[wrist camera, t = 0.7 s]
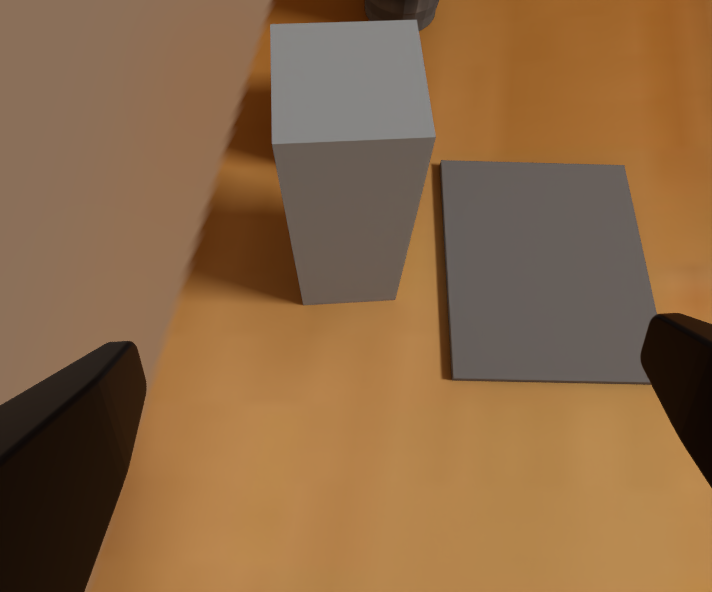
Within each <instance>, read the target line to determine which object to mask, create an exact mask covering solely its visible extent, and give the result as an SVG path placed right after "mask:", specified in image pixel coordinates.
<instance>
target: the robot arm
mask: <svg viewBox="0 0 712 592" xmlns="http://www.w3.org/2000/svg"><path fill="white" fill-rule="evenodd" d="M640 359H641V364H642V367H643V369H644V371H645V373H646V375H647V377H648V379H649V381H650V383H651V385H652V387H653V389H654V391H655V393H656V395H657V397H658V398H659V400H660V402H661V404H662V406H663V408H664V410H665V412H666V414H667V416H668V418H669V420H670V422H671V424H672V426H673V427H674V429H675V431H676V433H677V435H678V437H679V438H680V440H681V442H682V443H683V445H684V446H685V448H686V450H687V451H688V453H689V454H690V456H691V457H692V459H693V460H694V462H695V463H696V465H697V466H698V468H699V470H700V471H701V473H702V474H703V476H704V477H705V479H706V480H707V482H708V483H709V485H710V486H711V488H712V324H709V323H707V322H704V321H701V320H698V319H695V318H692V317H689V316H686V315H684V314H680V313H666V314H657V315H655V316H653V317H652V319H651V320H650V322H649V325H648V329H647V332H646V336H645V339H644V343H643V346H642V349H641V354H640ZM145 396H146V379H145V375H144V371H143V368H142V364H141V360H140V356H139V353H138V349H137V347H136V345H135V344H134V343H133V342H131V341H122V342H109V343H106V344H104V345H102V346H101V347H99V348H98V349H96V350H94V351H92V352H91V353H89V354H87V355H86V356H84V357H82V358H81V359H79V360H77V361H75V362H74V363H72V364H70V365H69V366H67V367H65V368H63V369H62V370H60V371H58V372H57V373H55V374H53V375H51V376H50V377H48V378H46V379H45V380H43V381H41V382H39V383H38V384H36V385H34V386H33V387H31V388H29V389H28V390H26V391H24V392H23V393H21V394H19V395H17V396H16V397H14V398H12V399H11V400H9V401H7V402H5V403H4V404H2V405H0V592H84V591H85V588H86V586H87V583H88V580H89V577H90V575H91V572H92V569H93V567H94V564H95V561H96V558H97V556H98V553H99V550H100V547H101V545H102V542H103V539H104V536H105V534H106V531H107V528H108V525H109V523H110V520H111V517H112V514H113V512H114V509H115V506H116V503H117V501H118V498H119V495H120V492H121V490H122V487H123V484H124V481H125V478H126V475H127V472H128V468H129V464H130V460H131V456H132V452H133V448H134V443H135V439H136V435H137V431H138V426H139V422H140V418H141V413H142V409H143V405H144V401H145Z"/></svg>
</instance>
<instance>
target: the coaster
mask: <svg viewBox="0 0 712 592" xmlns="http://www.w3.org/2000/svg"><path fill="white" fill-rule="evenodd" d="M440 175H441V193H442V211H443V229H444V247H445V265H446V283H447V301H448V319H449V337H450V355H451V373H452V380H460V381H508V382H556V383H604V384H651V383H650V381H649V379H648V377H647V375H646V373H645V371H644V369H643V367H642V364H641V359H640V354H641V349H642V346H643V343H644V339H645V336H646V332H647V329H648V325H649V322H650V320H651V319H652V317H653V316H655V315H657V313H656V308H655V304H654V299H653V295H652V290H651V285H650V281H649V276H648V272H647V267H646V263H645V258H644V253H643V249H642V244H641V240H640V235H639V231H638V226H637V221H636V217H635V212H634V208H633V203H632V199H631V194H630V190H629V185H628V180H627V176H626V171H625V167H624V165H594V164H557V163H520V162H483V161H446V160H441V163H440Z"/></svg>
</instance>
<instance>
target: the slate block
mask: <svg viewBox="0 0 712 592" xmlns="http://www.w3.org/2000/svg"><path fill="white" fill-rule="evenodd" d="M270 31H271V112H272V147H273V152H274V158H275V163H276V168H277V173H278V178H279V183H280V188H281V194H282V199H283V204H284V209H285V214H286V219H287V224H288V230H289V235H290V240H291V245H292V250H293V255H294V260H295V266H296V271H297V276H298V281H299V286H300V291H301V296H302V301H303V305H314V304H331V303H349V302H366V301H383V300H395V299H396V295H397V291H398V287H399V283H400V279H401V275H402V271H403V267H404V263H405V259H406V255H407V250H408V246H409V242H410V238H411V234H412V230H413V226H414V222H415V218H416V214H417V210H418V206H419V202H420V198H421V194H422V190H423V186H424V182H425V178H426V174H427V170H428V166H429V162H430V158H431V154H432V150H433V146H434V142H435V138H436V136H435V130H434V124H433V118H432V111H431V105H430V99H429V93H428V86H427V80H426V74H425V68H424V61H423V55H422V49H421V43H420V37H419V30H418V24H417V20H391V21H360V22H328V23H296V24H270Z"/></svg>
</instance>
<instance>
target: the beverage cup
mask: <svg viewBox="0 0 712 592" xmlns="http://www.w3.org/2000/svg"><path fill="white" fill-rule="evenodd" d="M438 2H439V0H365V11H366V15H367V17H368V18H369V20H370V21H391V20H417V24H418V30H419V31H420V30H422V29H424V28H425V27H426V26H428V25H429V24H430V23H431V21H432V20H433V18H434V15H435V10H436V8H437V5H438Z"/></svg>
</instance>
